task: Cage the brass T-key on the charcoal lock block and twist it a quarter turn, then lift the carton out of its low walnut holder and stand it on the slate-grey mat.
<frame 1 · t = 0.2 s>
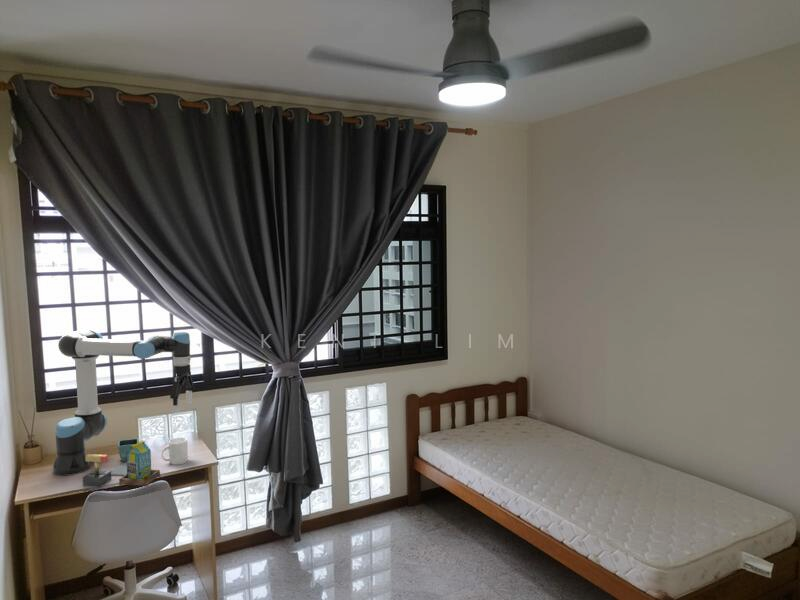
hand: (182, 407, 270), 28 cm above the table, fingers open, 13 cm apart
flower pot: (129, 460, 276), on the table
holder: (140, 479, 252), on the table
key: (96, 464, 248), point 8 cm above the table, hinge at 0.0°
mat: (129, 469, 263), on the table
carton: (140, 480, 252), resting in holder
lock block: (97, 482, 249), on the table
mug: (174, 462, 273), on the table
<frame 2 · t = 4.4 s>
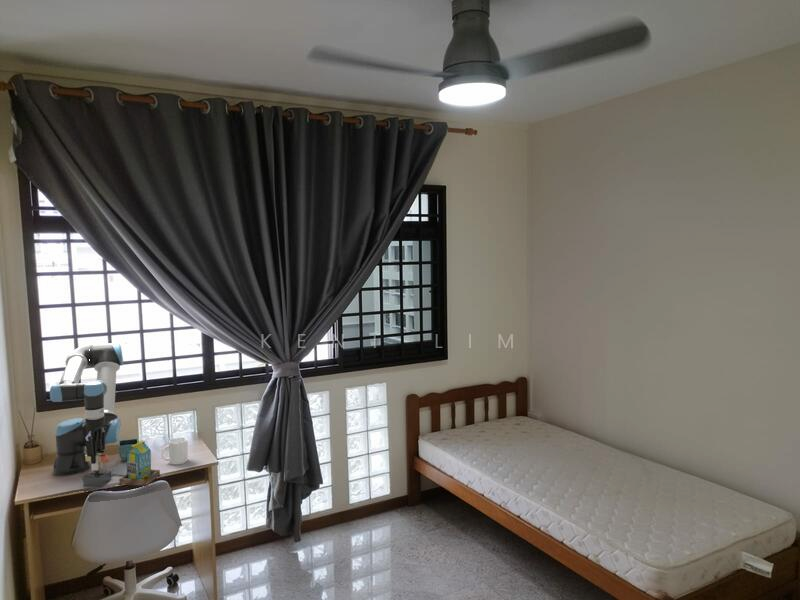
hand: (96, 468, 248), 6 cm above the table, fingers closed on key, 2 cm apart
key: (96, 464, 248), point 8 cm above the table, hinge at 0.1°, touching gripper
everything else where it was.
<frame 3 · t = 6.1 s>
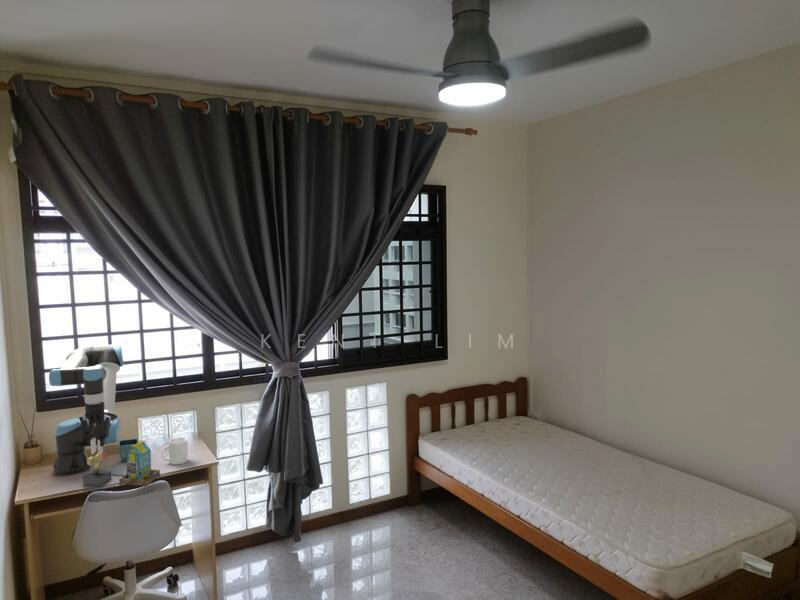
hand: (97, 452, 248), 13 cm above the table, fingers open, 2 cm apart
key: (96, 464, 248), point 8 cm above the table, hinge at 82.0°
everything else where it was.
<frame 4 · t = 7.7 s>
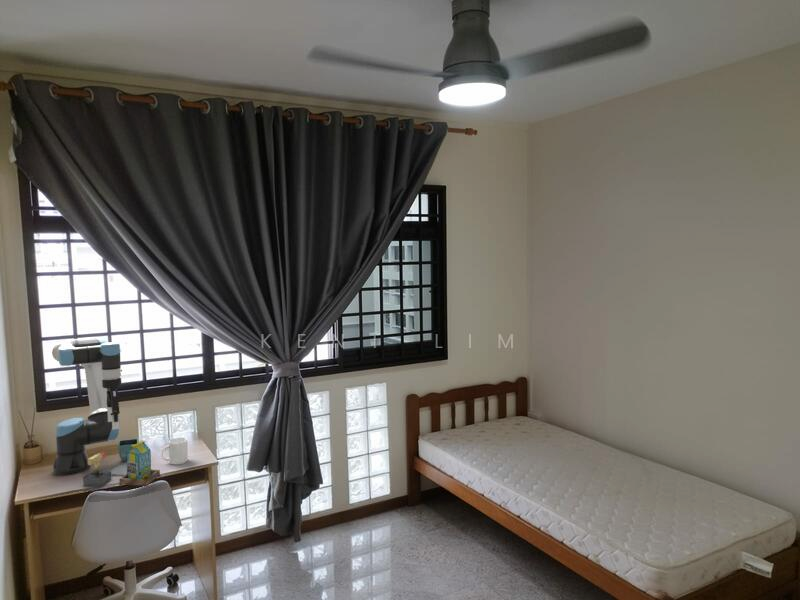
hand: (113, 425, 247), 26 cm above the table, fingers open, 13 cm apart
key: (96, 464, 248), point 8 cm above the table, hinge at 87.1°
everything else where it was.
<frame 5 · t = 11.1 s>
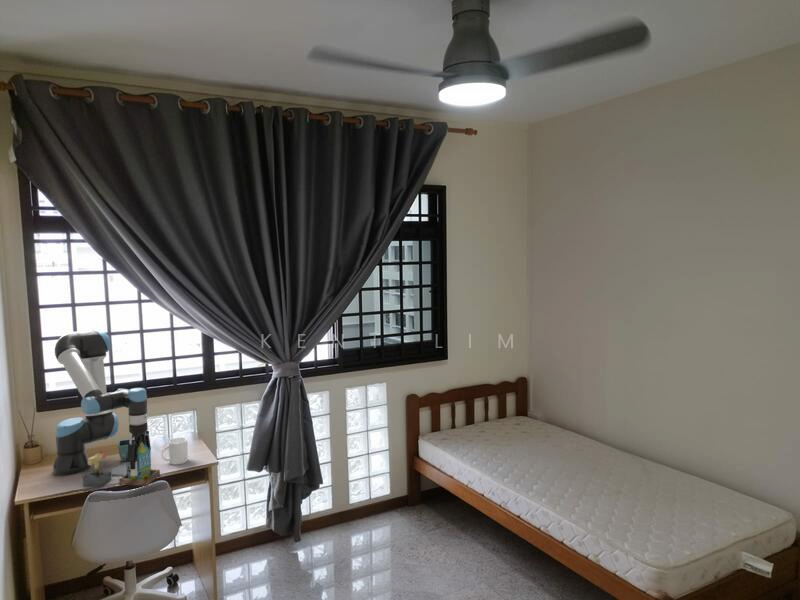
hand: (139, 471, 252), 4 cm above the table, fingers closed on carton, 8 cm apart
carton: (139, 480, 252), resting in holder, touching gripper
everything else where it was.
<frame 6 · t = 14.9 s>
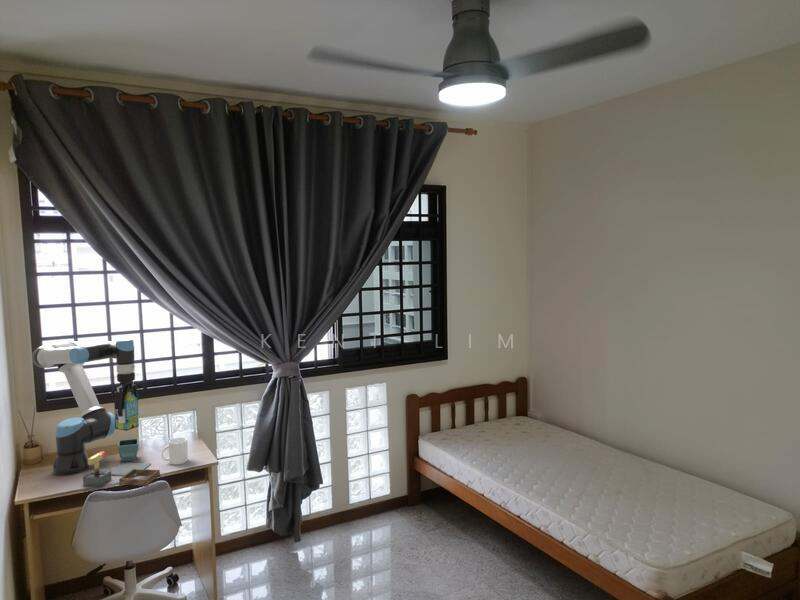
hand: (127, 419, 261), 24 cm above the table, fingers closed on carton, 8 cm apart
carton: (127, 428, 261), point 20 cm above the table, touching gripper
everything else where it was.
when the fingers open (5 cm above the table, at t = 18.6 s): carton stays where it is, resting on mat.
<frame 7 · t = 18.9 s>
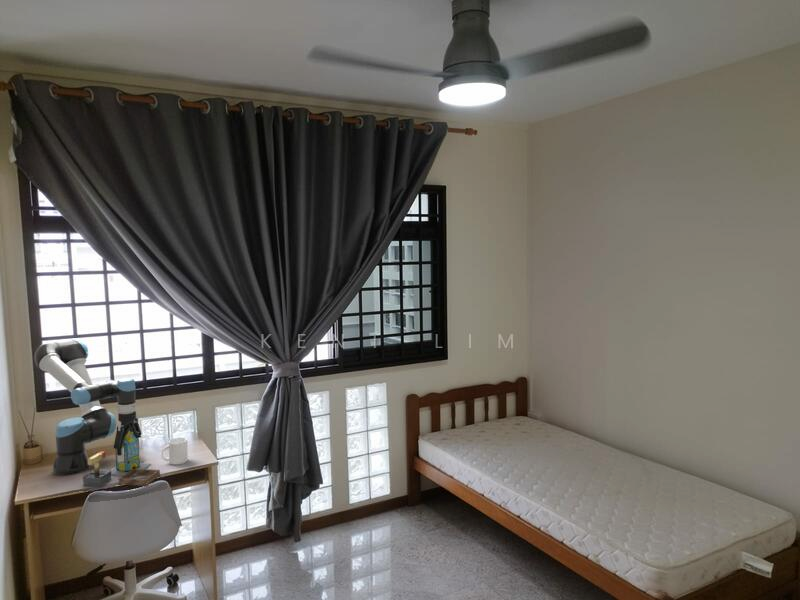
hand: (128, 456, 263), 7 cm above the table, fingers open, 12 cm apart
carton: (128, 468, 263), resting on mat
everything else where it was.
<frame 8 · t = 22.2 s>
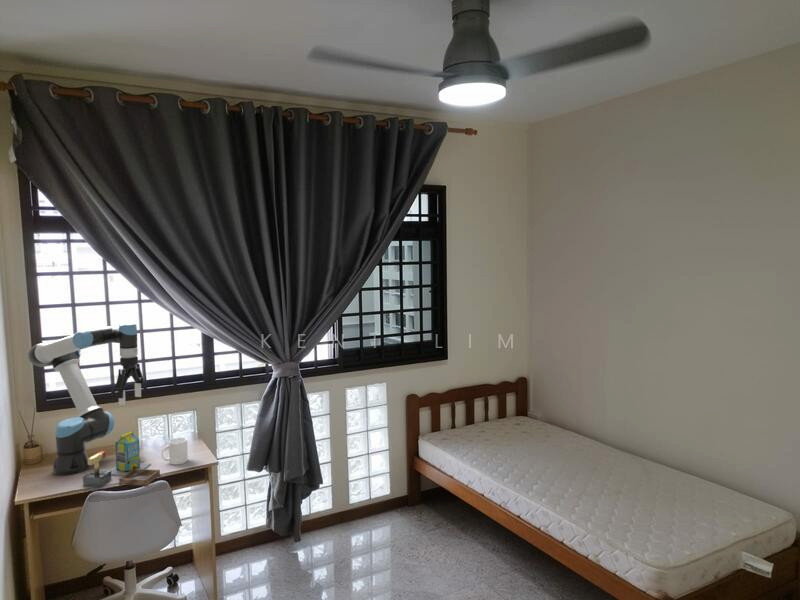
hand: (130, 400, 263), 33 cm above the table, fingers open, 13 cm apart
nothing on the table moved.
at the end: key at +87° (first picture: +0°); carton inside the target area on the mat (0.1 cm from its centre), point 0.4 cm above the mat's base; carton tilted 0° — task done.
